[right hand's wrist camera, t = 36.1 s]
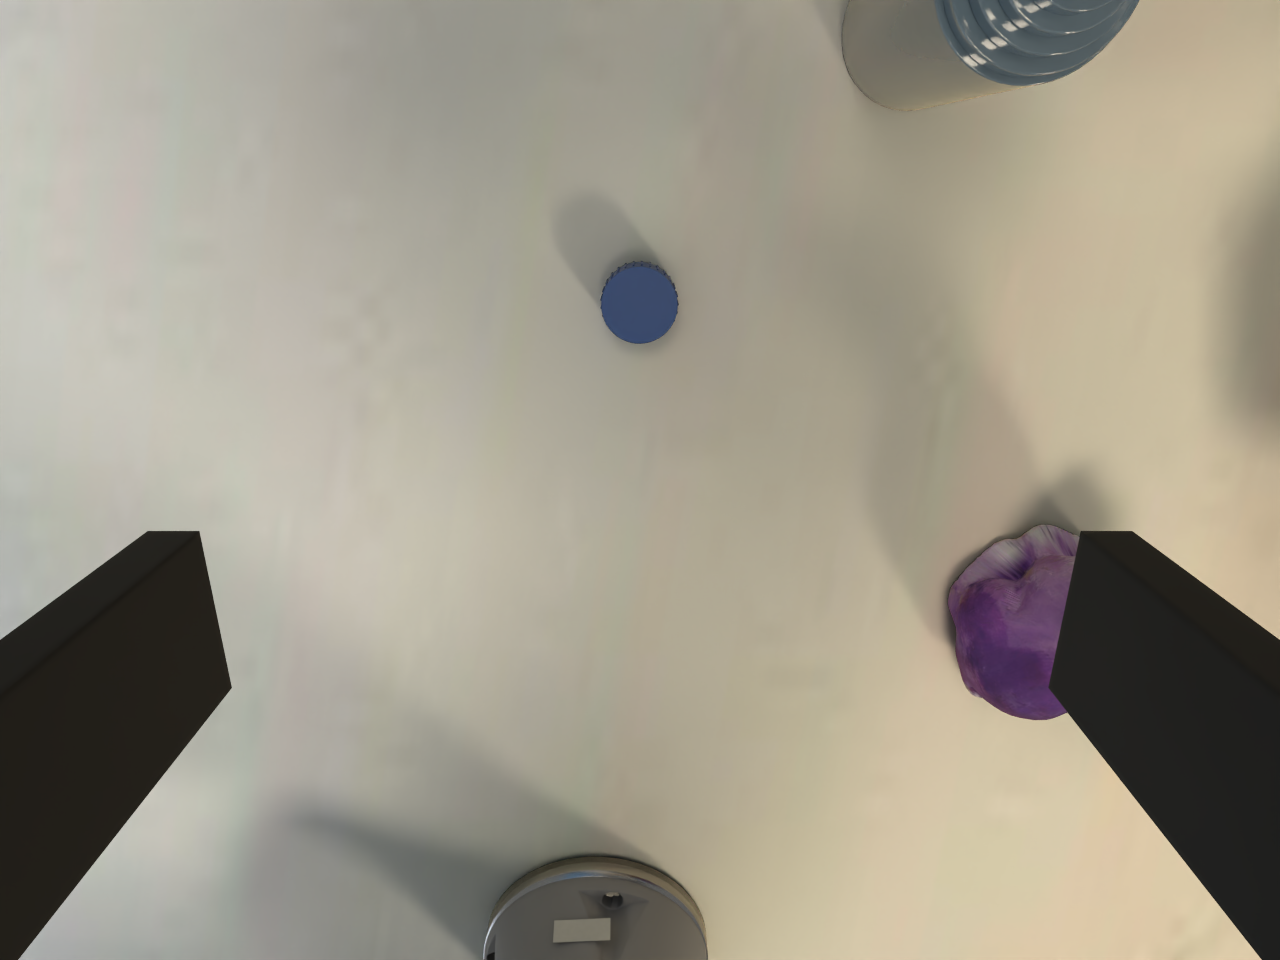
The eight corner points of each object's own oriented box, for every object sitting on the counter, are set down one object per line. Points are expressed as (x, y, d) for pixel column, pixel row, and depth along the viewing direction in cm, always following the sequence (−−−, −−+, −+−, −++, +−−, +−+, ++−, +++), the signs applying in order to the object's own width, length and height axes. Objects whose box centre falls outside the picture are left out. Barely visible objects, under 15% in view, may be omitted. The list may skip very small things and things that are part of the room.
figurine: (1081, 485, 45) (1278, 627, 31) (1112, 635, 49) (1302, 824, 35) (914, 540, 47) (1032, 700, 33) (955, 683, 50) (1078, 884, 36)
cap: (598, 331, 43) (596, 340, 41) (605, 256, 41) (604, 260, 39) (671, 340, 43) (673, 349, 41) (681, 265, 41) (683, 270, 39)
